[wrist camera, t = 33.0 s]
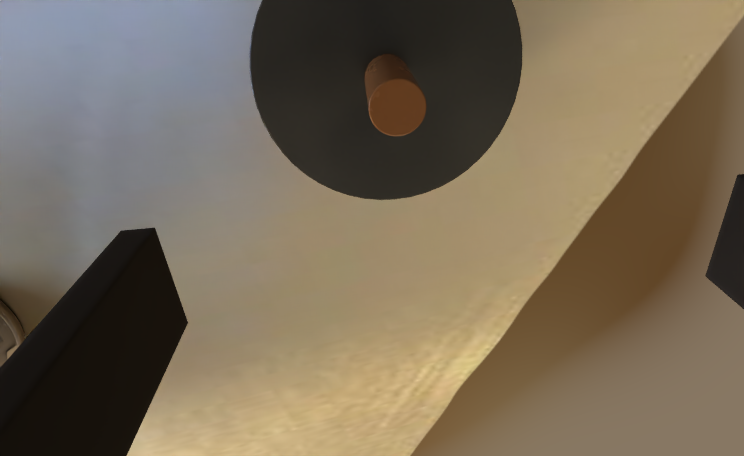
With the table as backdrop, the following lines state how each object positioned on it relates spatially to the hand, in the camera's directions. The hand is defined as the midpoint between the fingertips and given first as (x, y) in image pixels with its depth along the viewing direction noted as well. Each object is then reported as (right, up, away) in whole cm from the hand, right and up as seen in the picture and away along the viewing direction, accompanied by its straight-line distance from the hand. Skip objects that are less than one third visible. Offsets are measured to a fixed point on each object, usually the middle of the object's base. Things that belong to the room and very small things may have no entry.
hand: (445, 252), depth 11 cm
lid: (-1, +10, +19) cm, 21 cm away
